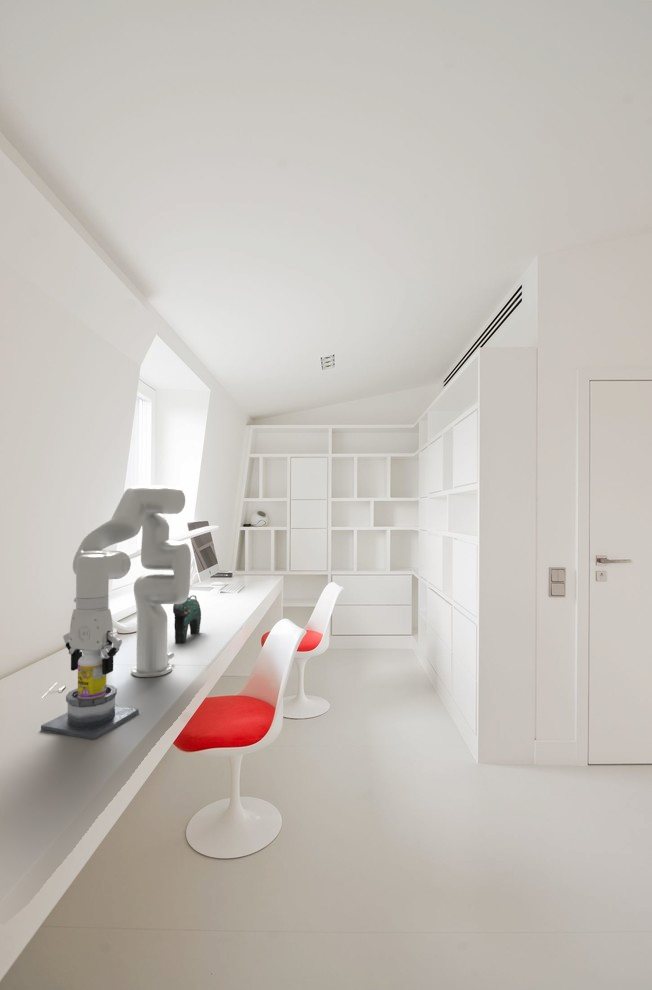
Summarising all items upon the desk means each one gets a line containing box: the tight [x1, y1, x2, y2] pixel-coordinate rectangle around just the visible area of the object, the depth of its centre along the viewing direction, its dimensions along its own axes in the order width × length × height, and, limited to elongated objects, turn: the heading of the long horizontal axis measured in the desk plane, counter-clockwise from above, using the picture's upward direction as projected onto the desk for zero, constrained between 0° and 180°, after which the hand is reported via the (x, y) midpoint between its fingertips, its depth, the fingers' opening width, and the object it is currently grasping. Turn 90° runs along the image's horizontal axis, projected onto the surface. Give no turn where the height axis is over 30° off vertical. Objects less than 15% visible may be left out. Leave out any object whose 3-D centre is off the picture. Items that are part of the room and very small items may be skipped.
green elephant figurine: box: [172, 595, 202, 645], centre depth 215 cm, size 20×6×20 cm, turn 171°
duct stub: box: [40, 684, 140, 741], centre depth 134 cm, size 16×16×7 cm
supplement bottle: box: [77, 650, 107, 699], centre depth 135 cm, size 7×7×13 cm
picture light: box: [40, 682, 67, 699], centre depth 156 cm, size 14×4×2 cm, turn 10°
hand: (92, 670), depth 134 cm, fingers open, 9 cm apart
